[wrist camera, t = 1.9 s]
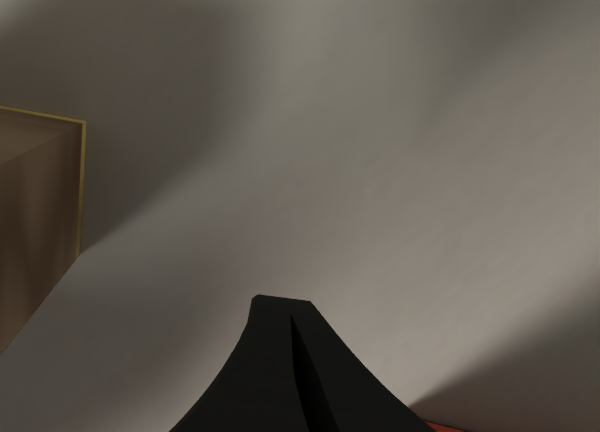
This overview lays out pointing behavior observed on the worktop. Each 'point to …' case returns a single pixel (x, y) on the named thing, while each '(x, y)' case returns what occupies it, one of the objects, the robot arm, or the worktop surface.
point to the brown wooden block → (37, 209)
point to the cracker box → (442, 428)
